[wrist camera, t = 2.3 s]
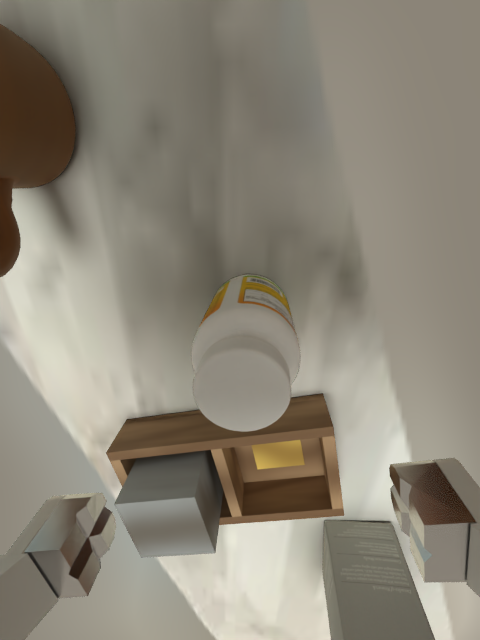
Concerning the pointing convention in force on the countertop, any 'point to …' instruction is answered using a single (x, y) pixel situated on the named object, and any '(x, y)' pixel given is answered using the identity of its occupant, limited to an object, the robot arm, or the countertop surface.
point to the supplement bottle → (245, 355)
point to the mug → (28, 131)
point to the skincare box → (370, 584)
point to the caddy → (222, 475)
